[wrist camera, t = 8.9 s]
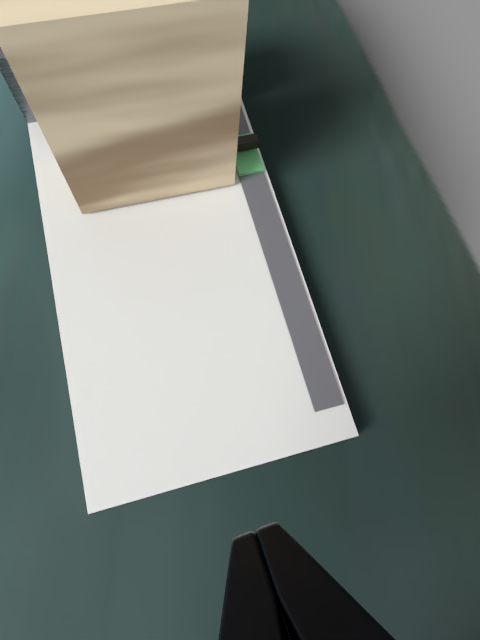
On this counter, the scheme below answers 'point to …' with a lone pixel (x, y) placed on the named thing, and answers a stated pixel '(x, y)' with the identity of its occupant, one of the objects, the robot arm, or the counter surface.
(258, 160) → the plate
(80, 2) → the block
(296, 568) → the robot arm
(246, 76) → the counter surface
